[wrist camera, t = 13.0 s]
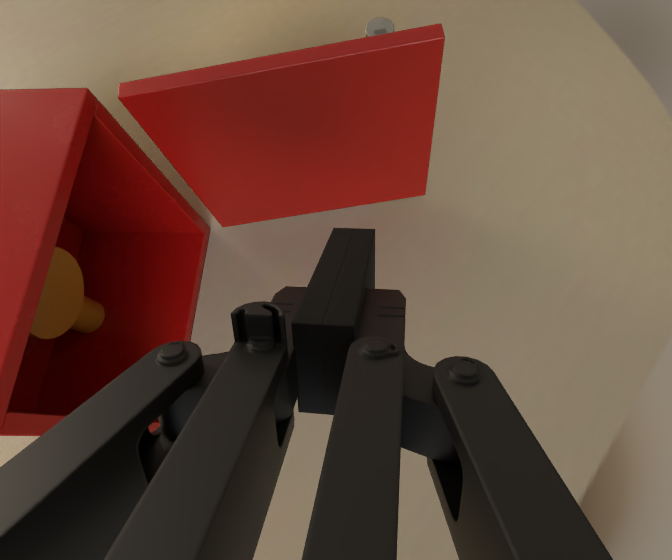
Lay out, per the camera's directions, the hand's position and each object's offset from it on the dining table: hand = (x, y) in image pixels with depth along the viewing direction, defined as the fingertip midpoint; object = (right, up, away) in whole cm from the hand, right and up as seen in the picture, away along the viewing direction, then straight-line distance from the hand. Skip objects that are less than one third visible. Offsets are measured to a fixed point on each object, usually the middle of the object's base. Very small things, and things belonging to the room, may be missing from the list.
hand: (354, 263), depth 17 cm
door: (-2, +6, +15) cm, 17 cm away
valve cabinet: (-15, -3, +14) cm, 21 cm away
